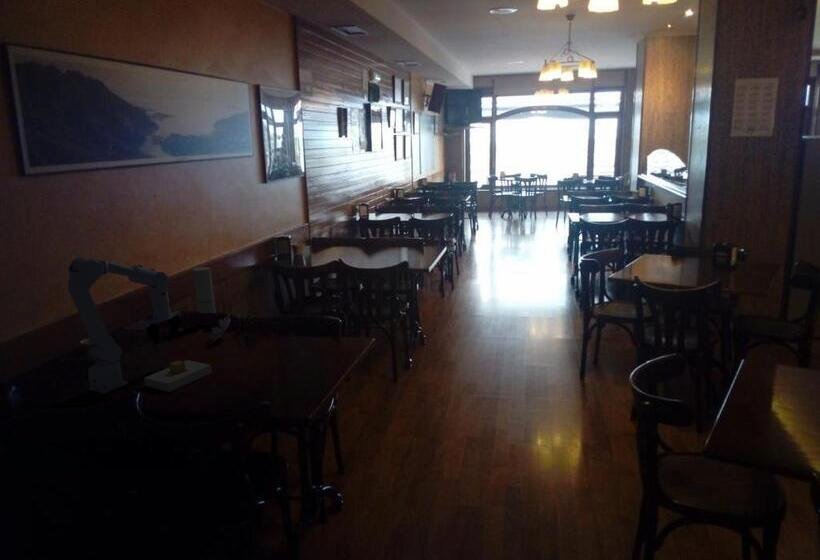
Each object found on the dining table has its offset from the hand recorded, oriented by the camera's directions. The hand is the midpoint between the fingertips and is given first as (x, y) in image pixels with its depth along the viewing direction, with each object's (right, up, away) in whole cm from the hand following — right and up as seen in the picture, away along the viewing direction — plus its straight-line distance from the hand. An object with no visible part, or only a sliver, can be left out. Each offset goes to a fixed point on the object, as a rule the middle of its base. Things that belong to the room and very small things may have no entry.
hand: (165, 340), depth 225 cm
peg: (+9, -12, -12) cm, 19 cm away
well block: (+9, -12, -12) cm, 19 cm away
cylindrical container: (-1, +2, +52) cm, 52 cm away
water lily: (+11, -3, +29) cm, 31 cm away
